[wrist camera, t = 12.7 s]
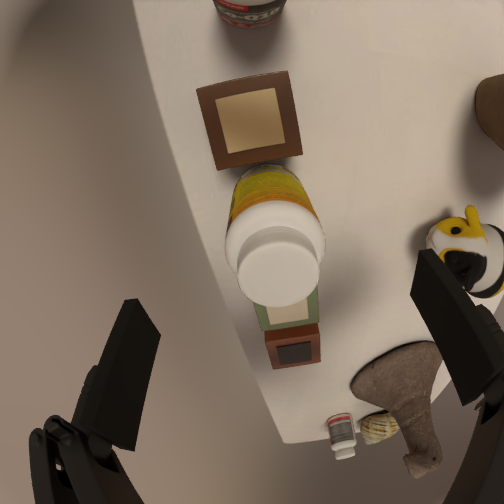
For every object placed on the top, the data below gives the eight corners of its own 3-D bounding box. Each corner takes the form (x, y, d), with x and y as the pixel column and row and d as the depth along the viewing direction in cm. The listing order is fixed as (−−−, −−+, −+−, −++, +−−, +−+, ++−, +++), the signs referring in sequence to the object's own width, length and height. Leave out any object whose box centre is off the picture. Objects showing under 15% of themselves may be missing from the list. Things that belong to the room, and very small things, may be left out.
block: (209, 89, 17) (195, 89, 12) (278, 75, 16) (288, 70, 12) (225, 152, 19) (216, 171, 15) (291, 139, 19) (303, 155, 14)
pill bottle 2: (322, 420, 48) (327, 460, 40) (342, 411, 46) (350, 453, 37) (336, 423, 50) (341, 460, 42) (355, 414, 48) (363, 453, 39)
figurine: (433, 177, 20) (489, 219, 13) (500, 227, 22) (539, 265, 16) (394, 250, 24) (430, 307, 17) (468, 279, 27) (498, 322, 20)
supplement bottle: (225, 170, 20) (203, 240, 12) (297, 155, 19) (333, 214, 11) (242, 232, 23) (237, 325, 15) (307, 219, 22) (338, 307, 14)
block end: (263, 303, 28) (264, 343, 23) (311, 295, 27) (320, 334, 23) (270, 333, 30) (272, 371, 26) (313, 326, 30) (321, 363, 26)
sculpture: (377, 340, 32) (417, 478, 15) (457, 333, 33) (501, 433, 16) (336, 397, 41) (352, 499, 25) (409, 387, 42) (433, 471, 26)
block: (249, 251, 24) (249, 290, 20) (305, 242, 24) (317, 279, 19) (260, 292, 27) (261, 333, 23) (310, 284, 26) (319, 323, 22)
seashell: (412, 404, 47) (406, 443, 42) (381, 405, 55) (375, 441, 49) (390, 405, 44) (383, 449, 38) (356, 405, 51) (349, 445, 46)
